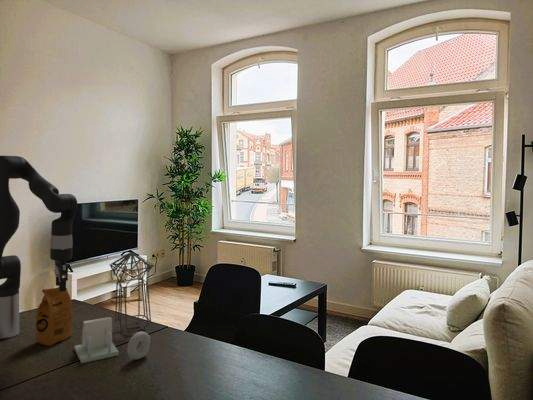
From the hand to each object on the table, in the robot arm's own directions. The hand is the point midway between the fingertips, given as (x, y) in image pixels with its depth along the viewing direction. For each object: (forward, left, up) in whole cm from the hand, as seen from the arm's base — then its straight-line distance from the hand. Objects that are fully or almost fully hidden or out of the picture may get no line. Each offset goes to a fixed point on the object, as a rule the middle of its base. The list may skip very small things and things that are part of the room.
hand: (60, 288), depth 154 cm
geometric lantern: (-5, +28, -24) cm, 37 cm away
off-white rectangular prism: (+6, +12, -23) cm, 26 cm away
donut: (+23, +23, -24) cm, 41 cm away
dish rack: (+9, +11, -24) cm, 28 cm away
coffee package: (-13, -1, -24) cm, 27 cm away
